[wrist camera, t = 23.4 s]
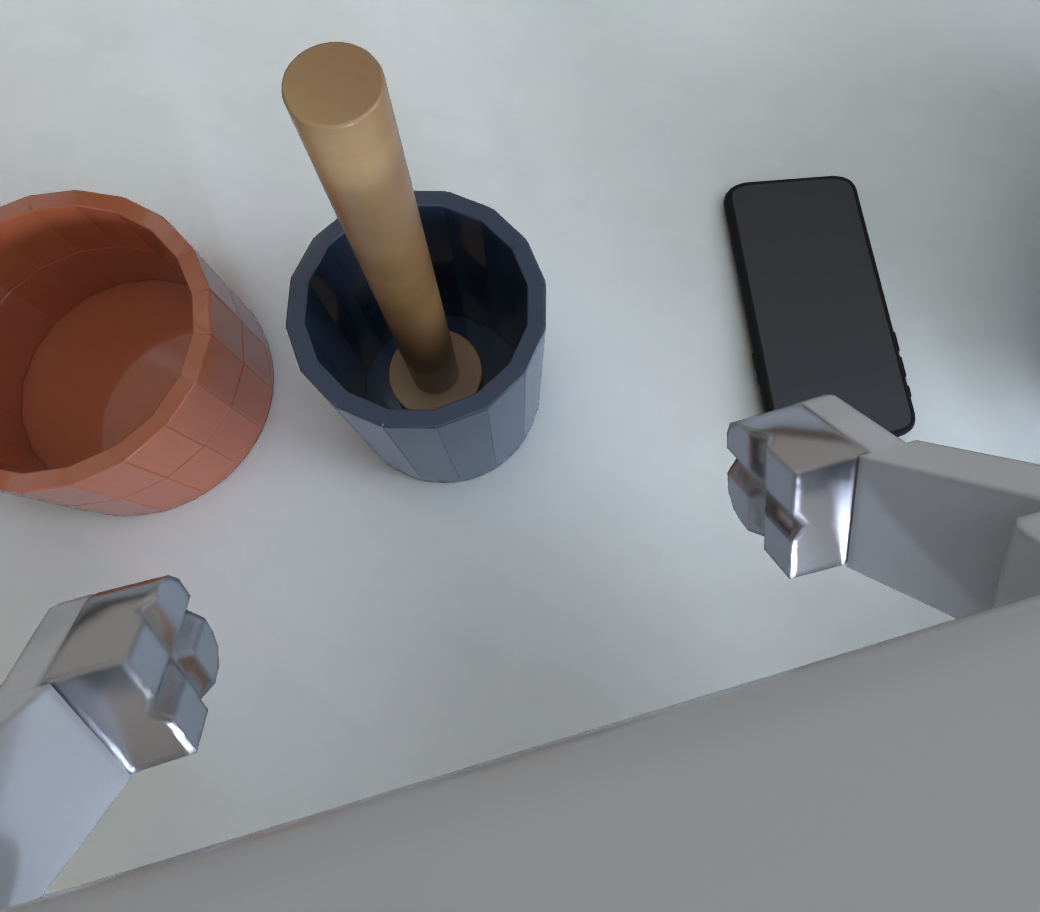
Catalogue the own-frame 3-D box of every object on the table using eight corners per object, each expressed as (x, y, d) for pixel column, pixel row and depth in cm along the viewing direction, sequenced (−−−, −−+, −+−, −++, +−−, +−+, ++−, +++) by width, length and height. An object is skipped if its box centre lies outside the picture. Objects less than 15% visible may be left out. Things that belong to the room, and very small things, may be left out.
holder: (441, 521, 31) (406, 483, 22) (318, 391, 33) (233, 300, 23) (576, 395, 33) (599, 305, 23) (451, 276, 35) (425, 145, 25)
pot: (116, 572, 31) (2, 562, 24) (-35, 386, 33) (-179, 329, 26) (326, 391, 33) (276, 335, 26) (171, 228, 35) (87, 136, 28)
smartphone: (855, 171, 35) (924, 433, 31) (847, 182, 36) (912, 438, 32) (722, 182, 35) (775, 446, 31) (717, 193, 36) (767, 451, 32)
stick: (438, 448, 32) (320, 213, 13) (380, 388, 32) (185, 81, 14) (503, 389, 32) (479, 84, 14) (443, 331, 33) (343, -35, 14)
